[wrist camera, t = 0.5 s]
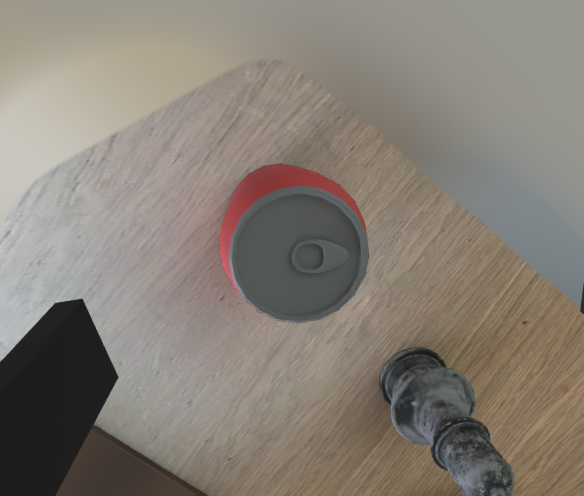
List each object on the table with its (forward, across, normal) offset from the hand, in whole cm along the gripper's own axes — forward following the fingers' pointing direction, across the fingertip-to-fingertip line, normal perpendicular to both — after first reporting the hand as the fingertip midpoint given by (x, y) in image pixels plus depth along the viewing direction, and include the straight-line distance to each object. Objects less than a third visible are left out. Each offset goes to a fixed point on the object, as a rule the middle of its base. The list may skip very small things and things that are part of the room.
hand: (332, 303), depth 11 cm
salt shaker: (+15, +5, -18) cm, 24 cm away
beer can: (+17, -3, -4) cm, 18 cm away
